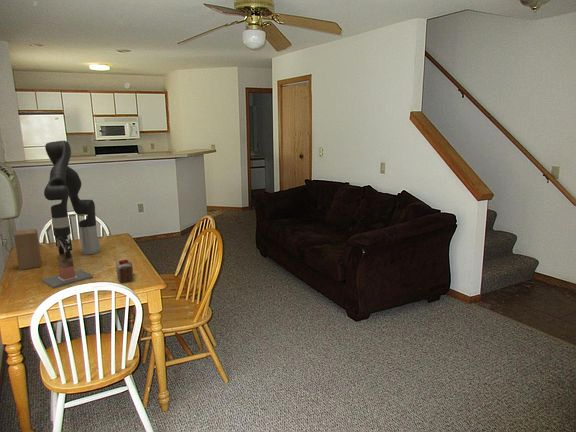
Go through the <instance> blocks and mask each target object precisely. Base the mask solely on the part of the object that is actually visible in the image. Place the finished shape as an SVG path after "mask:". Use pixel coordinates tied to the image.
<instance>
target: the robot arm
mask: <svg viewBox="0 0 576 432" xmlns="http://www.w3.org/2000/svg"><path fill="white" fill-rule="evenodd" d="M44 148H45V153H46V154H47V157H48V158H49V160H50V162H51V163H52V165H53V166H52V168H51V169H50V172H49V180H48V183H47V185H46V186H45V188H44V192H43V195H44V198H45V199H46V200H48V201H60V203H58V204H54V205H51V207H50V213H51V224H52V232H53V236H54V239H55V246H56V247H57V249H58V253H59V254H58V255H60V254H64V253H65V254H66V259H70V258H71V254H72V253H71V251H73V244H72V238H69V237H68V236H69V235H71V234H72V233H71V232H72V231H71V227H70V226H71V225H70V219H69V213H68V201H69V200H70V203H71V206H72V209H73V211H74V213H75V214H76V215H78V216H86V218H85V219H82V220H79V222H78V228H79V229H78V230H79V238H80V248H81V253H82V255H85V256H87V255H89V256H90V255H94V254H98V253H100V252H101V251H100V250H101V247H100V240H99V236H98V233H97V226H96V225H97V224H96V222H97V219H96V218H97V217H96V204H95V202H94V200H93V199H80V198H79V193H80V190H81V189H82V181H81V178H80V176H79V174H78V172H77V171H75V169H74V168H72V167H70V166H69V163H70V159H71V157H72V156H71V155H72V149H71V146H70V143H69V142H68V140H58V141H57V140H56V141H50V142H47V143H45V144H44Z"/></svg>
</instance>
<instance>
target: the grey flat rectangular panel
mask: <svg viewBox="0 0 576 432" xmlns="http://www.w3.org/2000/svg"><path fill="white" fill-rule="evenodd" d="M93 278H94V276H93V274H90V273H89V272H86V271H84V270H82V269H78V270H75V277H74V278H70V279H66V280H63V279H61V278H60V276H59V274H57V275H53V276H50V277H46V278H41V282H43V283H44V284H46V285H47V286H49V287H50V288H52V289H56V288H59V287H63V286H67V285H71V284H75V283H79V282H82V281H85V280H91V279H93Z"/></svg>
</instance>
